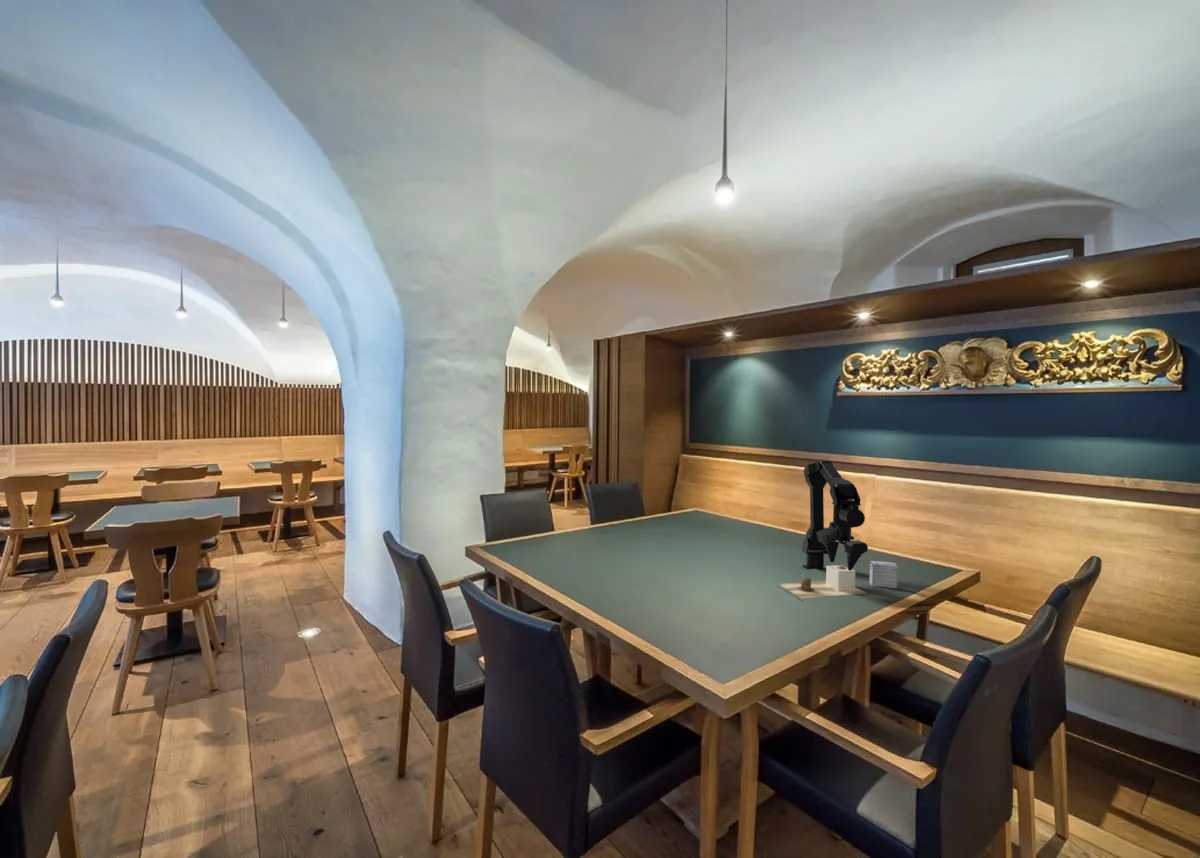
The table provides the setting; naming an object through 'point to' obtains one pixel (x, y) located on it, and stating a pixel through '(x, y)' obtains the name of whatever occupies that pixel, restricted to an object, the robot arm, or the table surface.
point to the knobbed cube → (840, 577)
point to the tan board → (815, 589)
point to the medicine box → (883, 574)
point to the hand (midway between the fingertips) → (840, 566)
